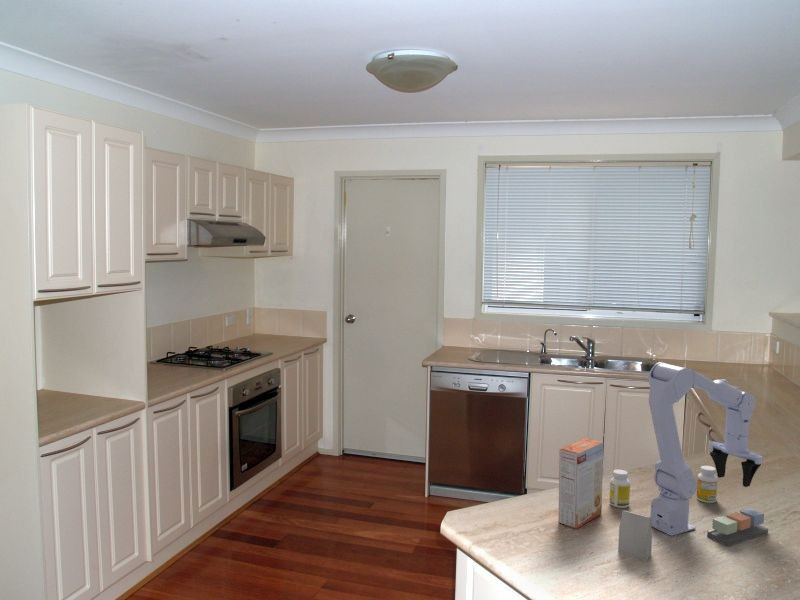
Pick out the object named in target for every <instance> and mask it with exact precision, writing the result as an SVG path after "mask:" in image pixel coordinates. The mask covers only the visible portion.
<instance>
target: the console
mask: <svg viewBox="0 0 800 600" xmlns="http://www.w3.org/2000/svg"><path fill="white" fill-rule="evenodd" d="M767 534H769V528H768V527H765V526H763V525H761V524H760V525H757V526H752V525H751V526H750V528H747V529H744V530H741V531H740V530H738V529H737V532H734V533H731V534H728V535H725V534H723V533H721V532H719V531H717V530H714V529H709V530H707V533H706V536H707V537H708V538H709V539H712V540H713V541H716V542H719V543H721V544H723V545H725V546H727V547H731V546H734V545H736V544H740V543H742V542H746V541H749V540H750V539H751V540H752V539H754V538H758V537H761V536H764V535H767Z"/></svg>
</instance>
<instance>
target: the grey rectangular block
mask: <svg viewBox="0 0 800 600" xmlns="http://www.w3.org/2000/svg"><path fill="white" fill-rule="evenodd" d="M620 516H621V517H620V522H619V529H618V545H617V552H618V553H620V554H623V555H626V556H630V557H632V558H636V559H639V560H642V561H645V562H646V561H648V559H649V558H650V557H651V556H652V546H653V544H652V543H653V542H652V541H653V529H652V528H653V527H652V526H651V517H650V516H647V515H642V514H639V513H636V512H631V511H629V510H625V509H623V510H622V511H621V515H620Z"/></svg>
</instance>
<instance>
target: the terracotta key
mask: <svg viewBox="0 0 800 600" xmlns="http://www.w3.org/2000/svg"><path fill="white" fill-rule="evenodd" d="M726 517H727V518H729V519H732V520H734V521H736V522H737V529H738V530H740V531H741V530H744V529H747V528H750V526H751V518H750V517H748V516H745V515H743V514H741V513H740V512H737V511H736V512H731V513H729V514H726Z"/></svg>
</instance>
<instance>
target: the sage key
mask: <svg viewBox="0 0 800 600" xmlns="http://www.w3.org/2000/svg"><path fill="white" fill-rule="evenodd" d="M712 529H714V530H717V531H719V532H721V533H723V534H725V535H728V534H731V533H734V532H737V522H736V521H734V520H732V519H729V518H727V516H724V515H722V516H718V517H714V518H712ZM712 529H711V530H712Z"/></svg>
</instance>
